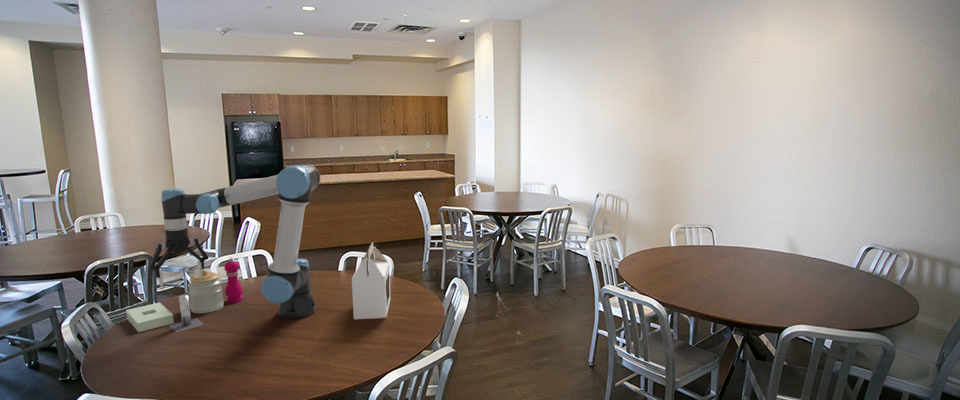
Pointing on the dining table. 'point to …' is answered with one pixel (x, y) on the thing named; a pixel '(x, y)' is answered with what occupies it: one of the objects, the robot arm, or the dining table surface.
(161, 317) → the socket block
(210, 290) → the jar
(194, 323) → the mat
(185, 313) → the pin
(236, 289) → the pepper mill
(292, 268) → the robot arm
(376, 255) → the gable box
